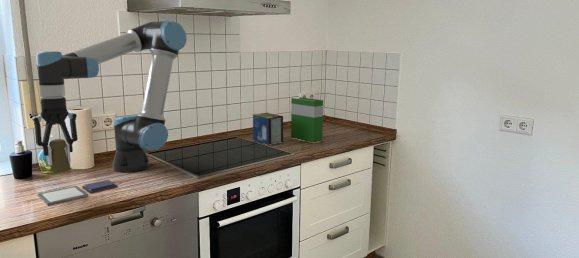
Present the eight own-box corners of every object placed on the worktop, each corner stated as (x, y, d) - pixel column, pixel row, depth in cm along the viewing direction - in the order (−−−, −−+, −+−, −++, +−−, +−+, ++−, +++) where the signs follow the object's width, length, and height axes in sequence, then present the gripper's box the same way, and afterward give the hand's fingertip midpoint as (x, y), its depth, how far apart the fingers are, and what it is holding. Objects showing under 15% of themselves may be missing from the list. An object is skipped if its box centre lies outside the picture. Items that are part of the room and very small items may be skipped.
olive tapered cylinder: (72, 167, 150) (70, 137, 148) (64, 172, 145) (61, 141, 142) (55, 167, 150) (52, 137, 148) (46, 172, 144) (43, 141, 142)
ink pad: (109, 182, 165) (109, 178, 164) (117, 187, 159) (117, 183, 159) (82, 187, 158) (82, 184, 158) (89, 193, 152) (89, 189, 152)
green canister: (291, 139, 244) (291, 98, 240) (299, 137, 250) (300, 97, 245) (313, 144, 232) (314, 101, 228) (322, 142, 237) (323, 100, 233)
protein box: (267, 138, 246) (267, 112, 243) (283, 143, 234) (283, 116, 231) (252, 140, 239) (252, 114, 236) (268, 145, 227) (268, 117, 224)
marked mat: (76, 187, 158) (76, 185, 158) (88, 196, 149) (88, 194, 149) (37, 195, 150) (37, 193, 149) (47, 205, 140) (47, 203, 140)
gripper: (77, 94, 151) (83, 156, 156) (19, 98, 139) (27, 165, 143) (85, 96, 146) (90, 160, 150) (24, 100, 134) (32, 170, 138)
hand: (59, 162), depth 147 cm, fingers closed on olive tapered cylinder, 5 cm apart
